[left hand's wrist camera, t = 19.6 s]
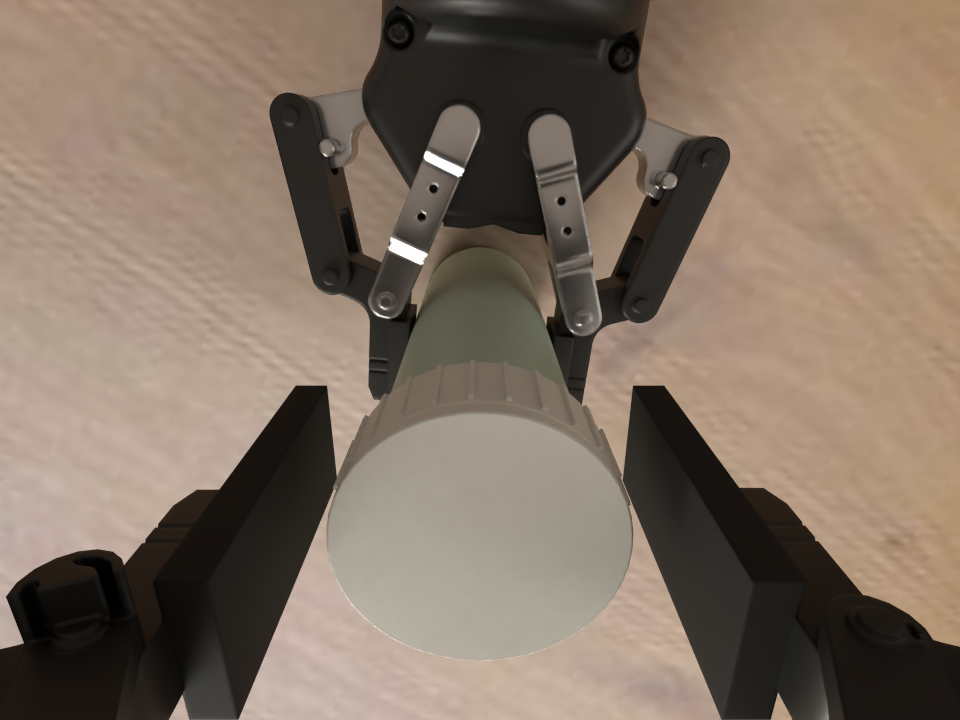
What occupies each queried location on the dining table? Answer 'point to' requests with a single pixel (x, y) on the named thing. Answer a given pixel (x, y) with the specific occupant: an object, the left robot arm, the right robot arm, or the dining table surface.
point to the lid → (479, 514)
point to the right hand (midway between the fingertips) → (474, 412)
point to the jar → (479, 318)
